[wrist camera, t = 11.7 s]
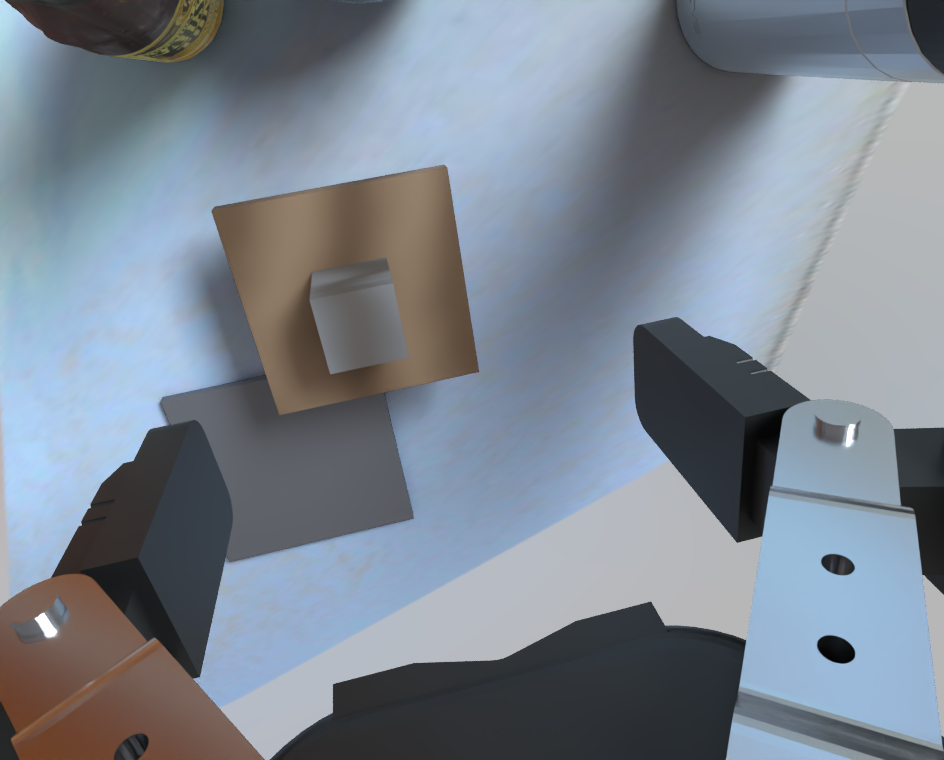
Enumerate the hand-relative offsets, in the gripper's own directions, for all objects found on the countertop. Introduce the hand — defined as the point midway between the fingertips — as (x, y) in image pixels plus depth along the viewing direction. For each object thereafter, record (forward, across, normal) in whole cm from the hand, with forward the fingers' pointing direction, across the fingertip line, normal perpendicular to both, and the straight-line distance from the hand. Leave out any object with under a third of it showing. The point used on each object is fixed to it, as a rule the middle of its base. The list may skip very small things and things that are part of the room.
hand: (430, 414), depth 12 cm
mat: (+30, +9, +19) cm, 37 cm away
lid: (+25, +2, +6) cm, 26 cm away
